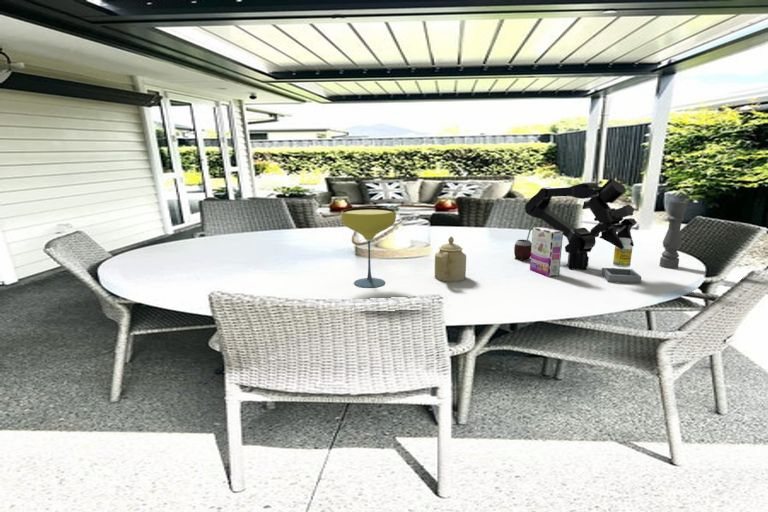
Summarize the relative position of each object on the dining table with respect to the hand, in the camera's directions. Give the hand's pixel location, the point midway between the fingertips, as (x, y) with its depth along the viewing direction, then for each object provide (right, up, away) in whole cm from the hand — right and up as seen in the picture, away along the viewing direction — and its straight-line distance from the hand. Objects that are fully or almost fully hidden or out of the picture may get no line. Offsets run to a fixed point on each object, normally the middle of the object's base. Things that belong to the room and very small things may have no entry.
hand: (627, 247), depth 151 cm
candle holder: (+27, -7, +20) cm, 34 cm away
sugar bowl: (-60, -11, +5) cm, 61 cm away
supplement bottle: (-1, -7, +3) cm, 7 cm away
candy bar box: (-24, -9, +12) cm, 29 cm away
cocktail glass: (-89, -12, 0) cm, 89 cm away
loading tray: (-1, -11, +4) cm, 12 cm away
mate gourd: (-26, -5, +32) cm, 42 cm away
